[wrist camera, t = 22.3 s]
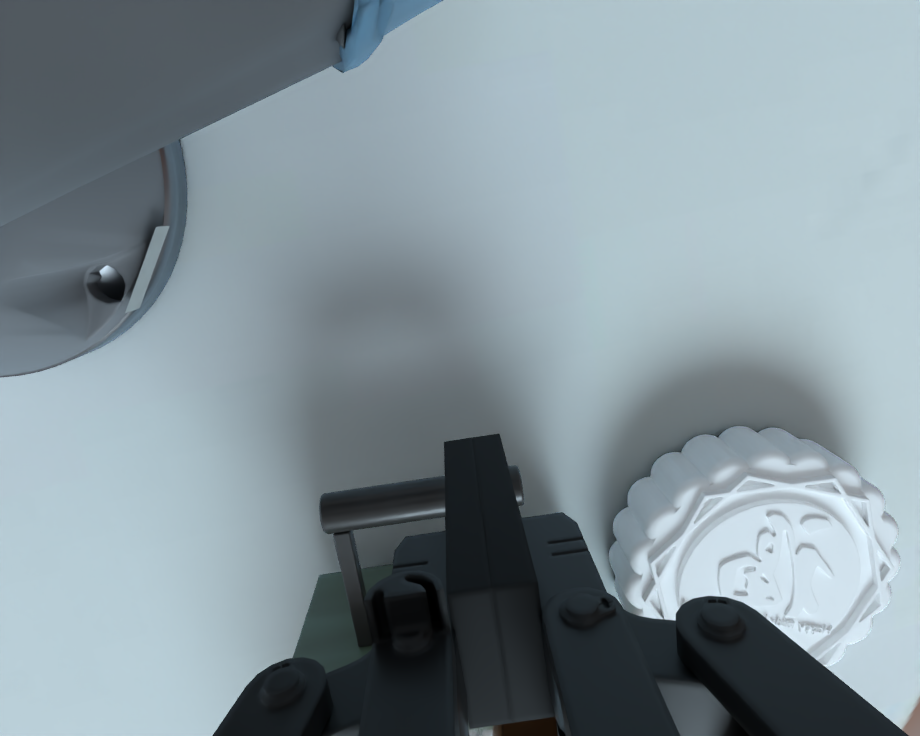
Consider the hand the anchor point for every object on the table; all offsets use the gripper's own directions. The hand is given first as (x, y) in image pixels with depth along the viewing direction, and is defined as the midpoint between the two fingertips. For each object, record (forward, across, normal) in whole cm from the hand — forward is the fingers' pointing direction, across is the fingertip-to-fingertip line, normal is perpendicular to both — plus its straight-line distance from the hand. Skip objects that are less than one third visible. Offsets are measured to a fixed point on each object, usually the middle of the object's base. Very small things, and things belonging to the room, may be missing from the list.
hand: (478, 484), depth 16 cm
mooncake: (+10, +12, -10) cm, 18 cm away
